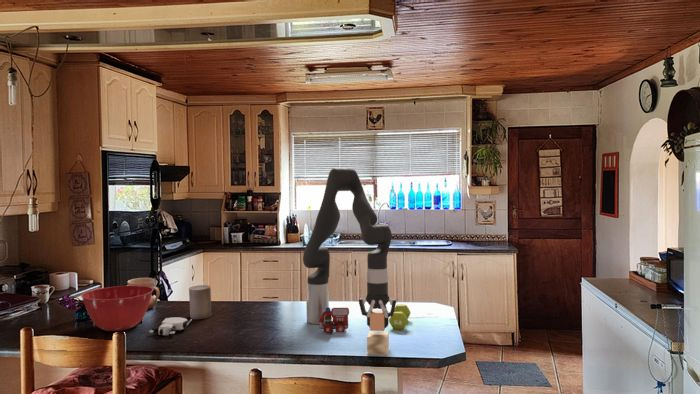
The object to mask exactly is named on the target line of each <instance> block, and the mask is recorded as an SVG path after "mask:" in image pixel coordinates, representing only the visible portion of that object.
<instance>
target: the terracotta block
mask: <svg viewBox="0 0 700 394" xmlns="http://www.w3.org/2000/svg"><path fill="white" fill-rule="evenodd" d="M384 318H385V316H384V313H383V311H382V310H377V309H373V310H372V312H371V313H370V327H369V332H370V331H377V332H385V330H386V328H384Z"/></svg>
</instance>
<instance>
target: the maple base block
mask: <svg viewBox="0 0 700 394" xmlns="http://www.w3.org/2000/svg"><path fill="white" fill-rule="evenodd" d="M389 334H390V333H389V331H370V330H369V331H368V334H367V336H366V352H367V354H366V355H372V354H386V355H385V356H388V355H387V352H388V349H389V348H390V344H389V343H390V341H389V339H390V338H389Z"/></svg>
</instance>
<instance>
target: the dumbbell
mask: <svg viewBox="0 0 700 394" xmlns="http://www.w3.org/2000/svg"><path fill="white" fill-rule="evenodd" d="M410 315H411V310H410V308H409V307H408V305H407V304H404V303H403V304H396V305H395V310H394V314H393V316H390V317H389V324H390V326H391V328H392V329H393V330H398V331H400V330H401V331H402V330H404V329H405V327H406V326H407V325H408V322H409V320H408V319H409V317H410Z"/></svg>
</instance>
